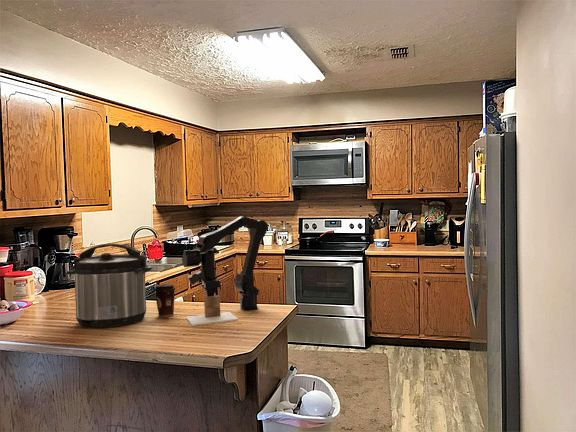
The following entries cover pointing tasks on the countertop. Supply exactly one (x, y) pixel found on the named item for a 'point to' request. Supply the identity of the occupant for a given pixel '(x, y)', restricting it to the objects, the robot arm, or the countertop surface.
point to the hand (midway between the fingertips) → (209, 302)
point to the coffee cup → (165, 299)
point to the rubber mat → (211, 319)
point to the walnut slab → (212, 306)
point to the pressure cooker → (110, 287)
